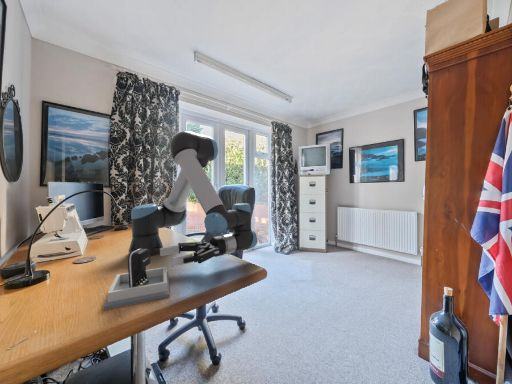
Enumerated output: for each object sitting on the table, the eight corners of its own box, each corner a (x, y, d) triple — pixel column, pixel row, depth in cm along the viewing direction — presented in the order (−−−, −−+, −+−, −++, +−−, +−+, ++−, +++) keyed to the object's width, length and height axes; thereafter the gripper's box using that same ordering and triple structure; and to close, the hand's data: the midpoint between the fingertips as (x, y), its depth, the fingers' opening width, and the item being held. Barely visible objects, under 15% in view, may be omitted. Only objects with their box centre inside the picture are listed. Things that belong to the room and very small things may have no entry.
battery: (140, 291, 65) (139, 253, 65) (128, 291, 66) (126, 253, 65) (152, 281, 72) (151, 247, 72) (141, 281, 73) (140, 247, 72)
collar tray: (116, 282, 74) (116, 272, 74) (167, 274, 81) (167, 264, 81) (104, 310, 58) (103, 297, 58) (169, 296, 64) (169, 285, 64)
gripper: (239, 263, 77) (178, 280, 64) (208, 247, 97) (156, 258, 84) (239, 241, 76) (177, 254, 64) (208, 230, 96) (156, 239, 83)
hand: (165, 257), depth 74 cm, fingers open, 13 cm apart
